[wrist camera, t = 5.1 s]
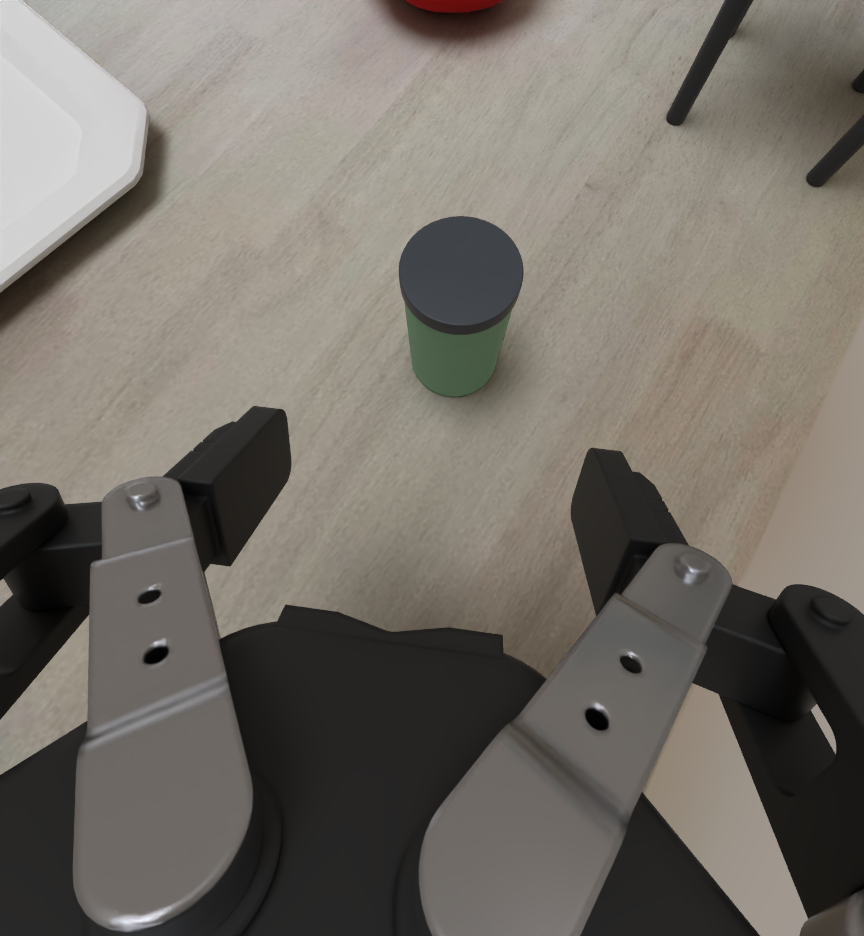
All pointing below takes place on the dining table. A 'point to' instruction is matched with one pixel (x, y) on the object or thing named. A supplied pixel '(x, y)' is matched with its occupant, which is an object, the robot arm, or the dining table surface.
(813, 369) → the dining table surface
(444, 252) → the plastic tub
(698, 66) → the tray
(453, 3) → the tomato
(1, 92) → the plate
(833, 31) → the dining table surface
